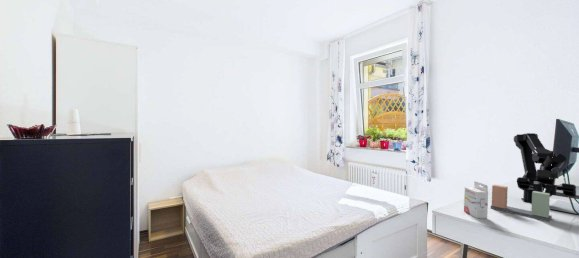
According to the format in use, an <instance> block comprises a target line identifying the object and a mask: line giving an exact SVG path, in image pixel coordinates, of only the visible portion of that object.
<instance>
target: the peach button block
mask: <svg viewBox="0 0 579 258" xmlns="http://www.w3.org/2000/svg"><path fill="white" fill-rule="evenodd" d="M491 188H492V189H491V190H492V191H491V205H492V206H495V207H500V208H504V209H505V208H507V206H508V189H509V188H508V186H505V185H500V184H492V186H491Z"/></svg>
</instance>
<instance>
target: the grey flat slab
mask: <svg viewBox="0 0 579 258" xmlns="http://www.w3.org/2000/svg"><path fill="white" fill-rule="evenodd" d="M490 209H493V210H497V211H501V212H504V213H505V212H506V213H511V214H514V215H518V216H523V217H527V218H531V219H537V220H541V221H545V222H550V221H551V220H552V219H551V218H553V217H552V215H550V214H549V217H548V218H546V217H542V216H537V215H532V214H531V211H532V210H527V209H522V208H517V207H514V206H508V205H507V208H505V209H504V208H500V207H495V206H492V204H491V205H490Z"/></svg>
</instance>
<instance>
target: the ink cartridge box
mask: <svg viewBox="0 0 579 258" xmlns="http://www.w3.org/2000/svg"><path fill="white" fill-rule="evenodd" d="M473 183H474V187H471V186H470V187H469V186H465V187H464V195H463V197H464V199H463V201H464V202H463V212H464V211H465V213H466V214H468V215H470V216H471V217H474V218H475V217H476V218H475V219H488V209H489V206H488V205H489V202H488V201H489V191H488V190H489V189H488V188H489V187H488V185H487V184H484V183H482V182H478V181H476V180H474V181H473Z"/></svg>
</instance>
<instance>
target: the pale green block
mask: <svg viewBox="0 0 579 258" xmlns="http://www.w3.org/2000/svg"><path fill="white" fill-rule="evenodd" d="M544 192H545V191H543V192H538V191H533V192H532V203H531V210H530V211H531V214H532V215H537V216H542V217H546V218H548V217H549V215H550V202H551V201H550V198H551V197H550V193H544Z"/></svg>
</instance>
